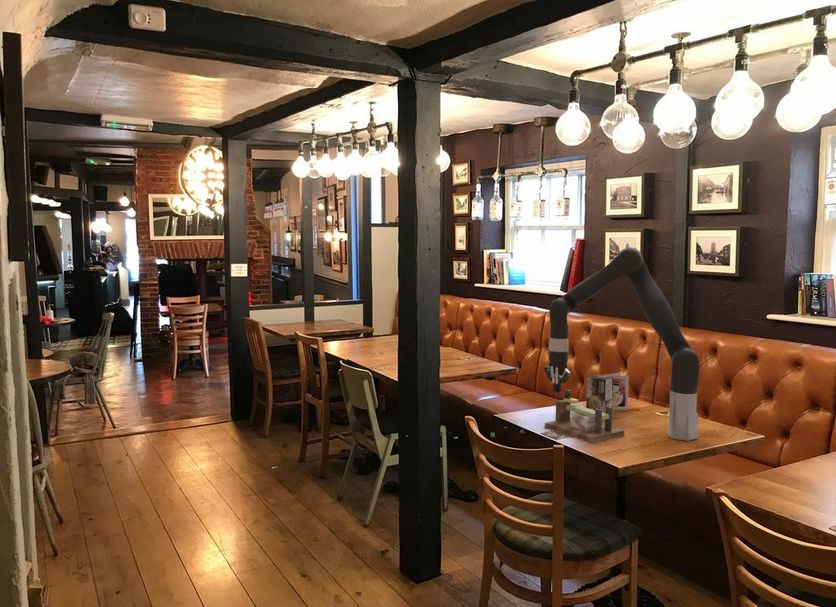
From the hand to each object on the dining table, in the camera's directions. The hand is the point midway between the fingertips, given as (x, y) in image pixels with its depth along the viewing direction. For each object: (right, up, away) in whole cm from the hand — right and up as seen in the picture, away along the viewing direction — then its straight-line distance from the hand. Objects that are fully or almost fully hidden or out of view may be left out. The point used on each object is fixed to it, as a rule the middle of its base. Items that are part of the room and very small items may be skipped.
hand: (556, 392), depth 262 cm
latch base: (+8, -14, -10) cm, 18 cm away
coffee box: (+21, -12, +16) cm, 28 cm away
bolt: (+4, -3, -5) cm, 7 cm away
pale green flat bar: (+9, -6, -11) cm, 16 cm away
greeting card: (+30, -11, +27) cm, 42 cm away
